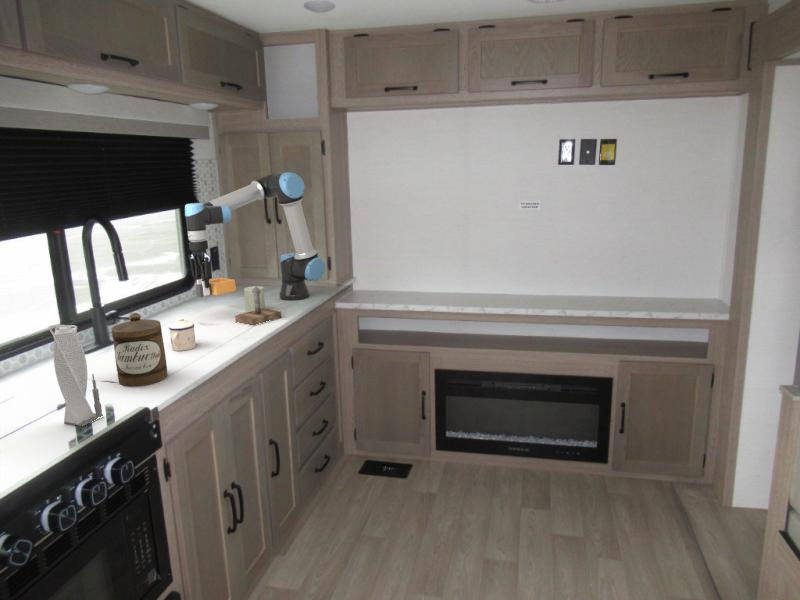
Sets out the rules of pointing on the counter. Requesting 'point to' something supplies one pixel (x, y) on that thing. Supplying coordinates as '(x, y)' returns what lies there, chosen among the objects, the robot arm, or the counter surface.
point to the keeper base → (257, 317)
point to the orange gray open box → (217, 287)
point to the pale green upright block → (250, 298)
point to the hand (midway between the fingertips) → (204, 294)
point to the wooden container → (139, 351)
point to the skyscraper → (73, 376)
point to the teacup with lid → (182, 335)
